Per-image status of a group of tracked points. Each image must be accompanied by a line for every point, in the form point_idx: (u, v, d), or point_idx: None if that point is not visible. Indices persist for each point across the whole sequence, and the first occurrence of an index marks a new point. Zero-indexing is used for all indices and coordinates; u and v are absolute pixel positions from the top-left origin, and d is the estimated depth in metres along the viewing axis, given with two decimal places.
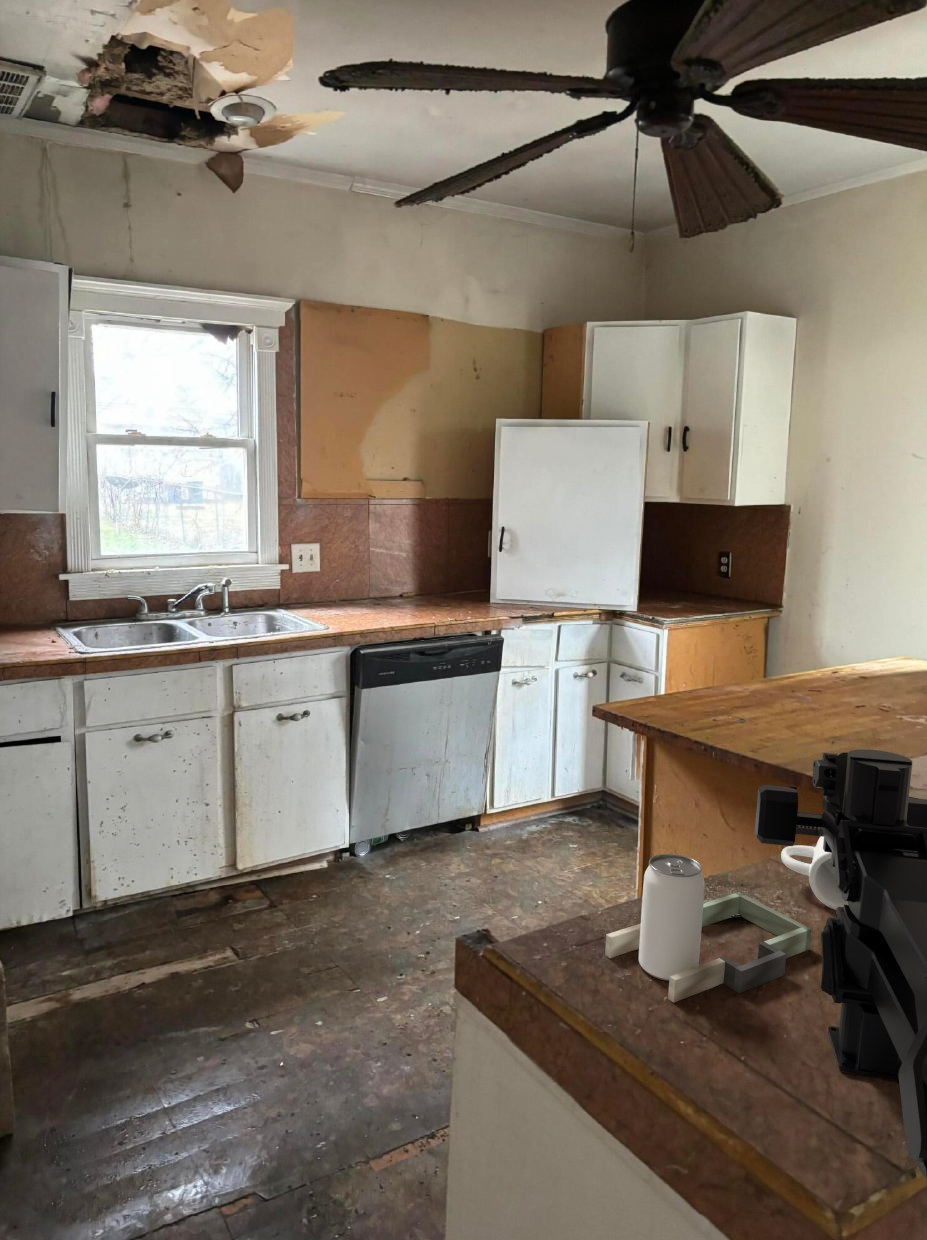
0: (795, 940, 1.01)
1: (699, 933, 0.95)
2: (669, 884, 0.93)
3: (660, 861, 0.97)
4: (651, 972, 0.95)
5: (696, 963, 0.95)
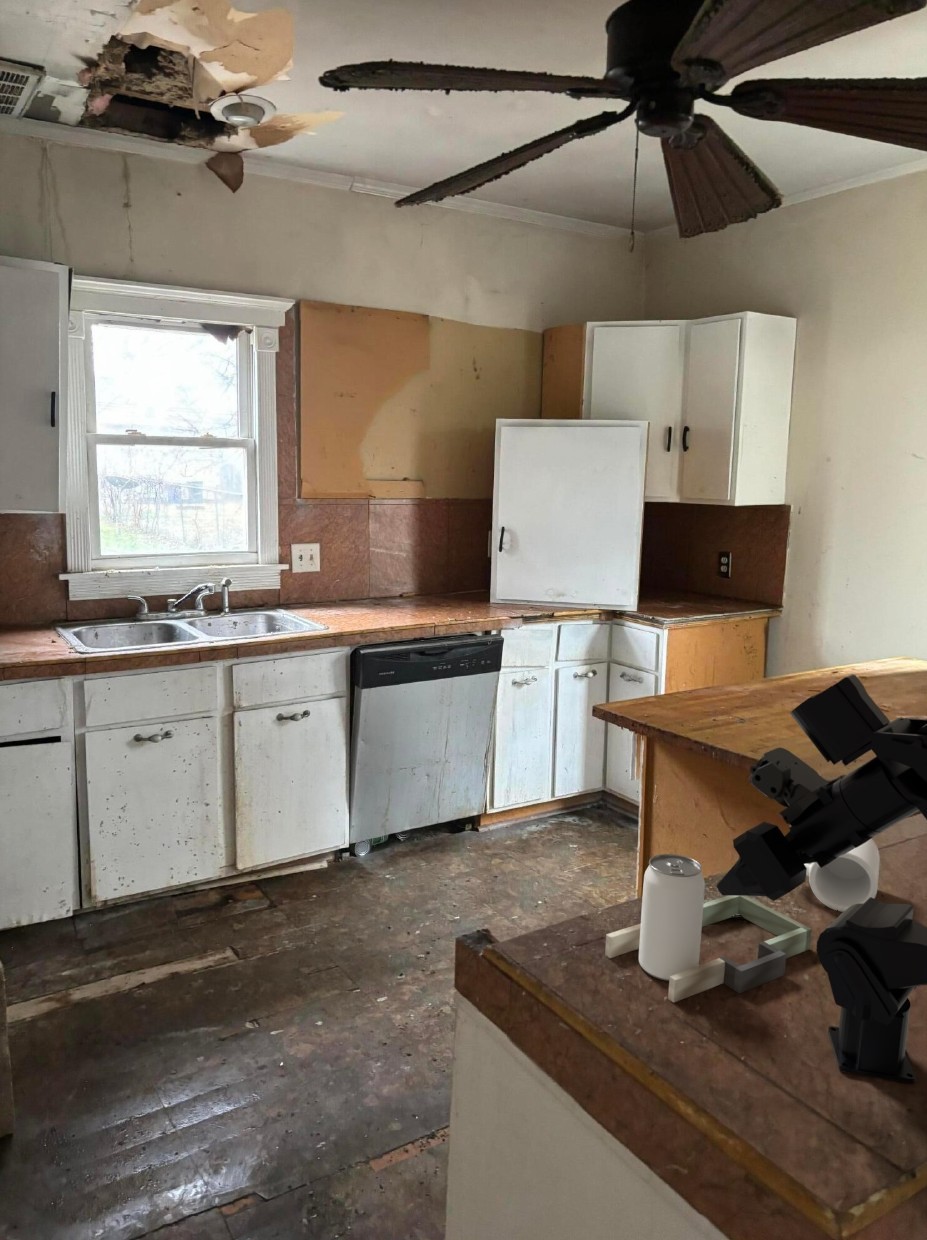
0: (795, 940, 1.01)
1: (699, 933, 0.95)
2: (669, 884, 0.93)
3: (660, 861, 0.97)
4: (651, 972, 0.95)
5: (696, 963, 0.95)
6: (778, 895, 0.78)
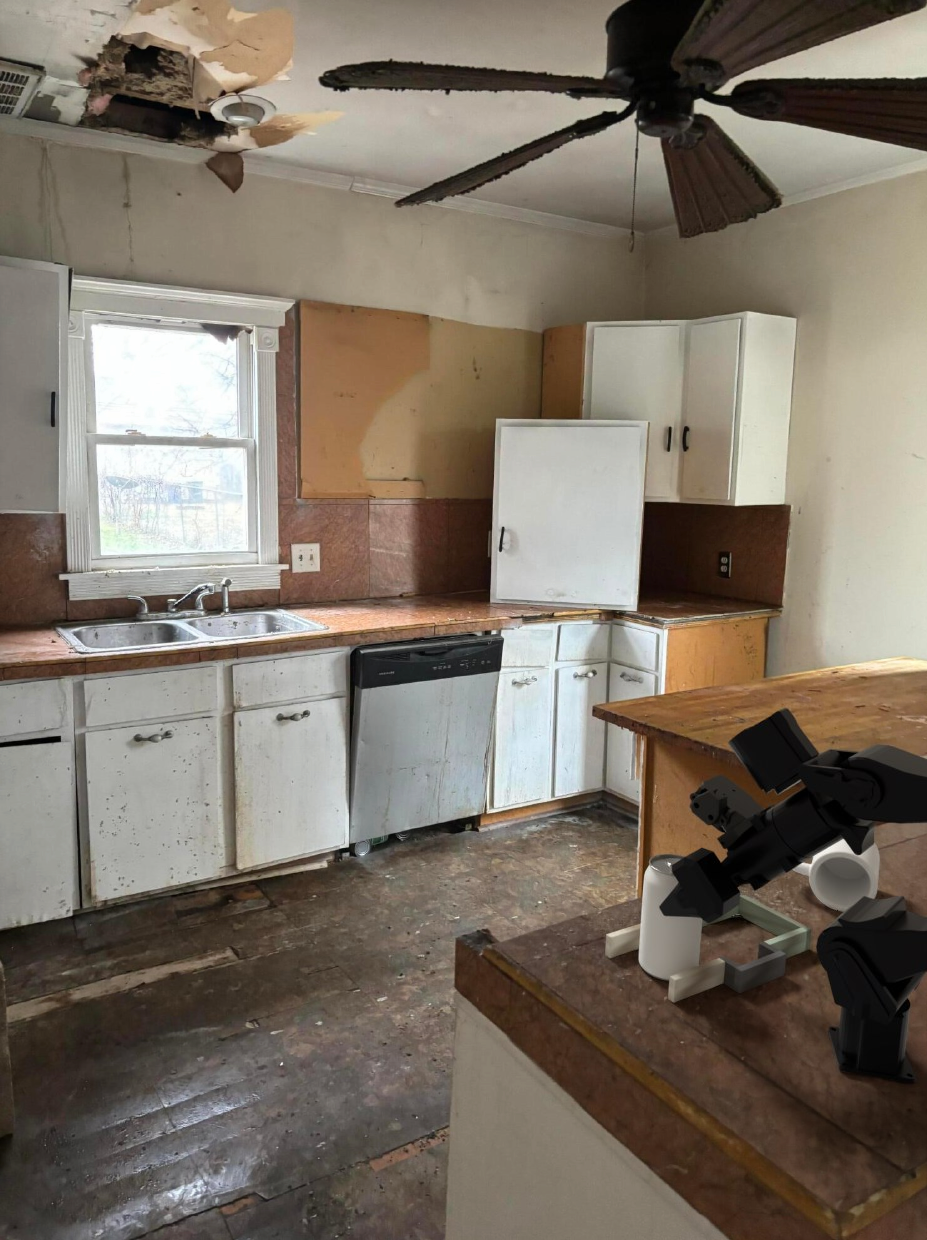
0: (795, 940, 1.01)
1: (699, 933, 0.95)
2: (669, 884, 0.93)
3: (661, 861, 0.97)
4: (651, 972, 0.95)
5: (696, 963, 0.95)
6: (712, 918, 0.83)
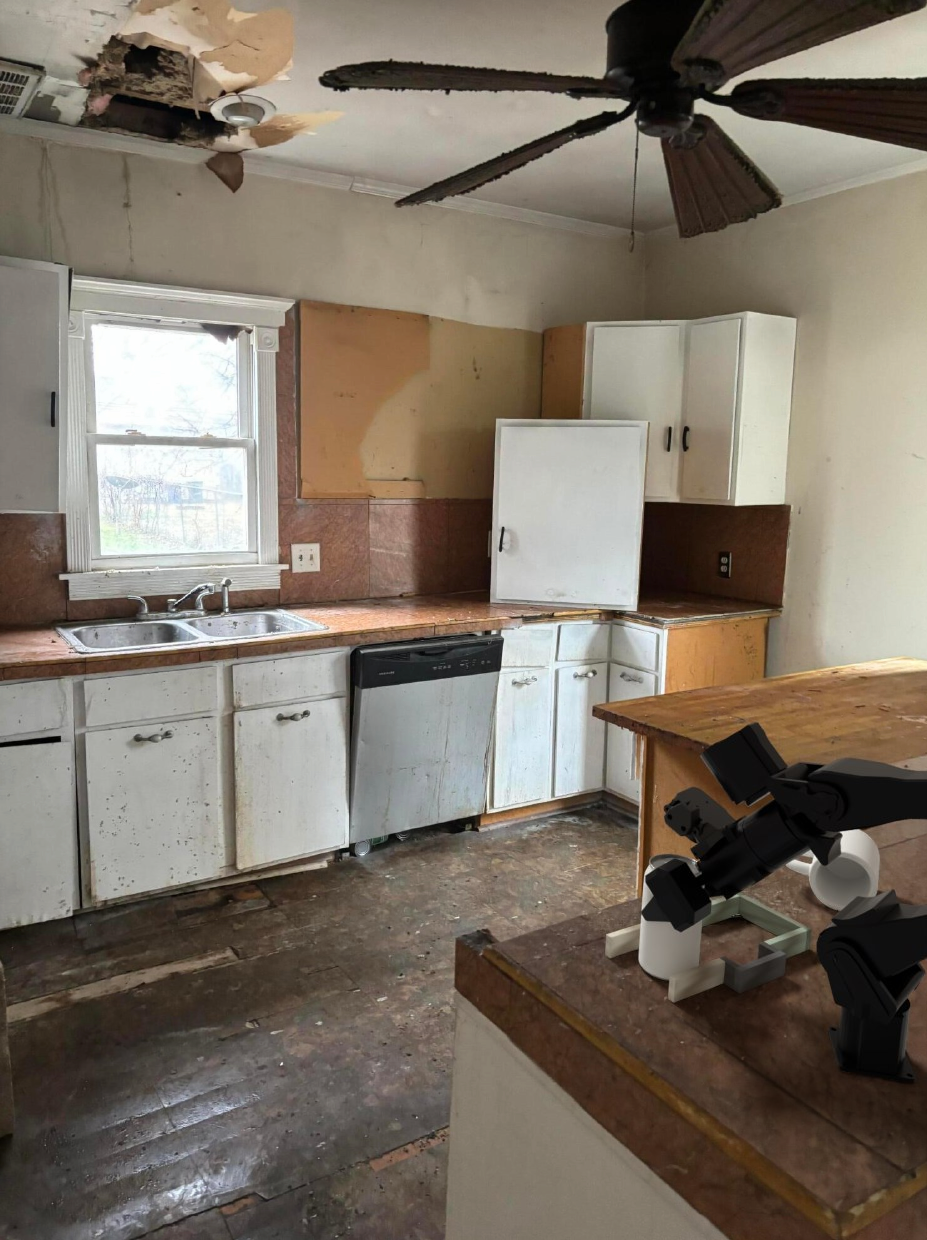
0: (795, 940, 1.01)
1: (699, 933, 0.95)
2: None
3: (661, 861, 0.97)
4: (651, 972, 0.95)
5: (696, 963, 0.95)
6: (684, 927, 0.85)
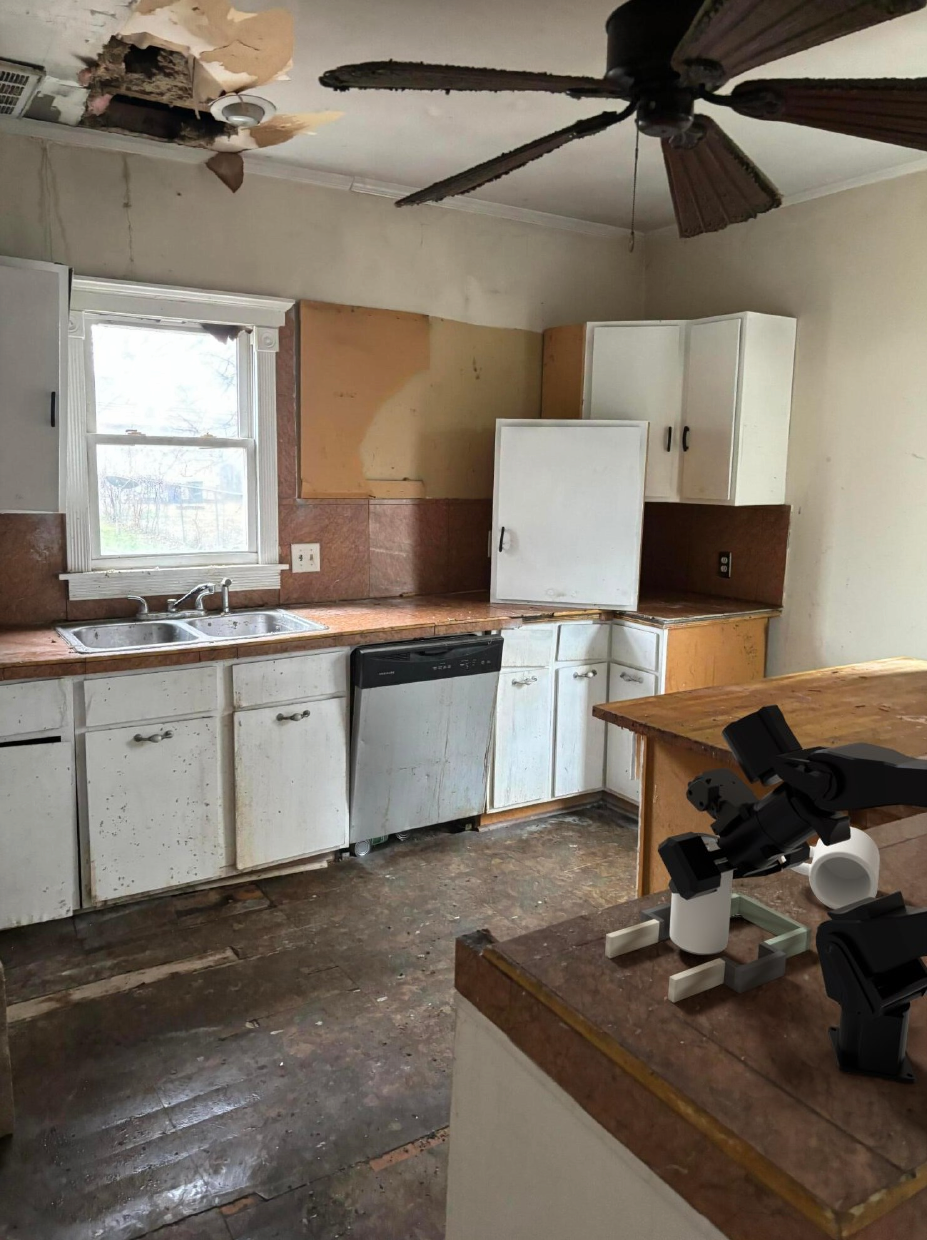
0: (795, 940, 1.01)
1: (725, 910, 0.98)
2: None
3: None
4: (677, 943, 0.99)
5: (722, 939, 0.98)
6: (689, 895, 0.89)
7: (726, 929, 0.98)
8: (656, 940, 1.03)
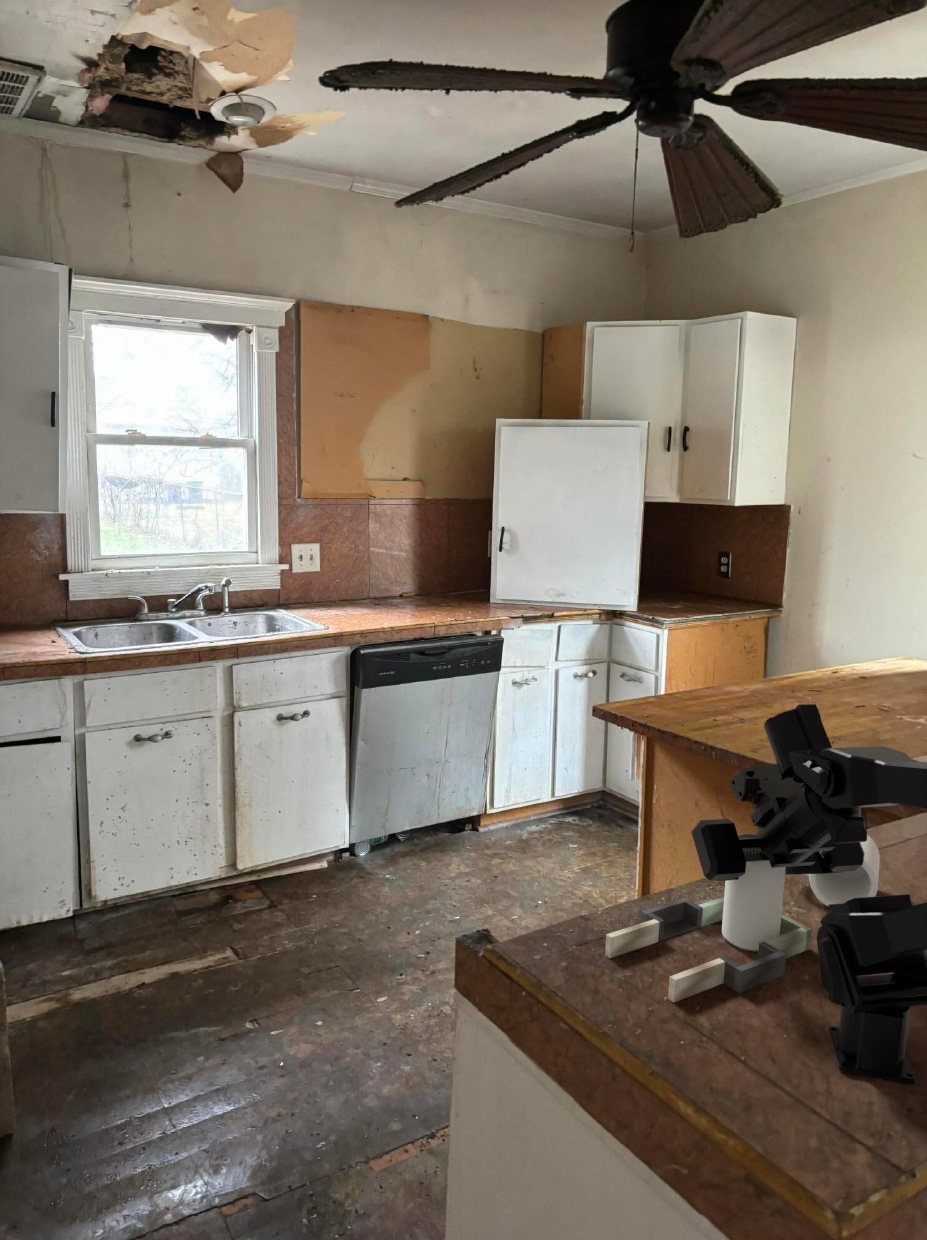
0: (795, 940, 1.01)
1: (771, 911, 1.00)
2: None
3: None
4: (724, 935, 1.04)
5: (767, 939, 1.01)
6: (711, 876, 0.95)
7: (772, 930, 1.01)
8: (656, 940, 1.03)
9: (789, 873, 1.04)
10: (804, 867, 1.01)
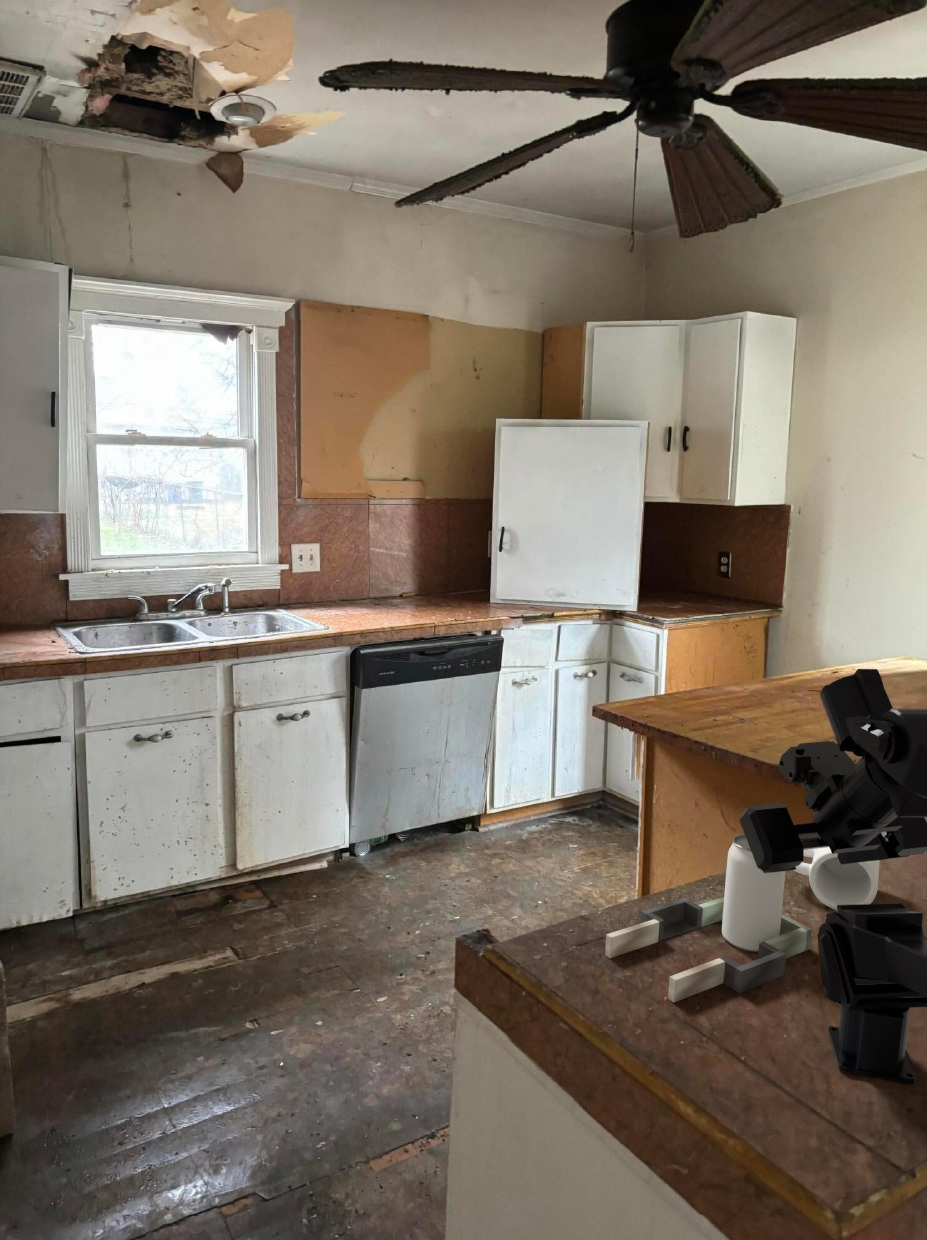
0: (795, 940, 1.01)
1: (771, 911, 1.00)
2: (739, 856, 1.01)
3: None
4: (724, 936, 1.04)
5: (767, 939, 1.01)
6: (765, 866, 0.85)
7: (772, 930, 1.01)
8: (656, 940, 1.03)
9: (849, 862, 0.94)
10: (866, 853, 0.92)
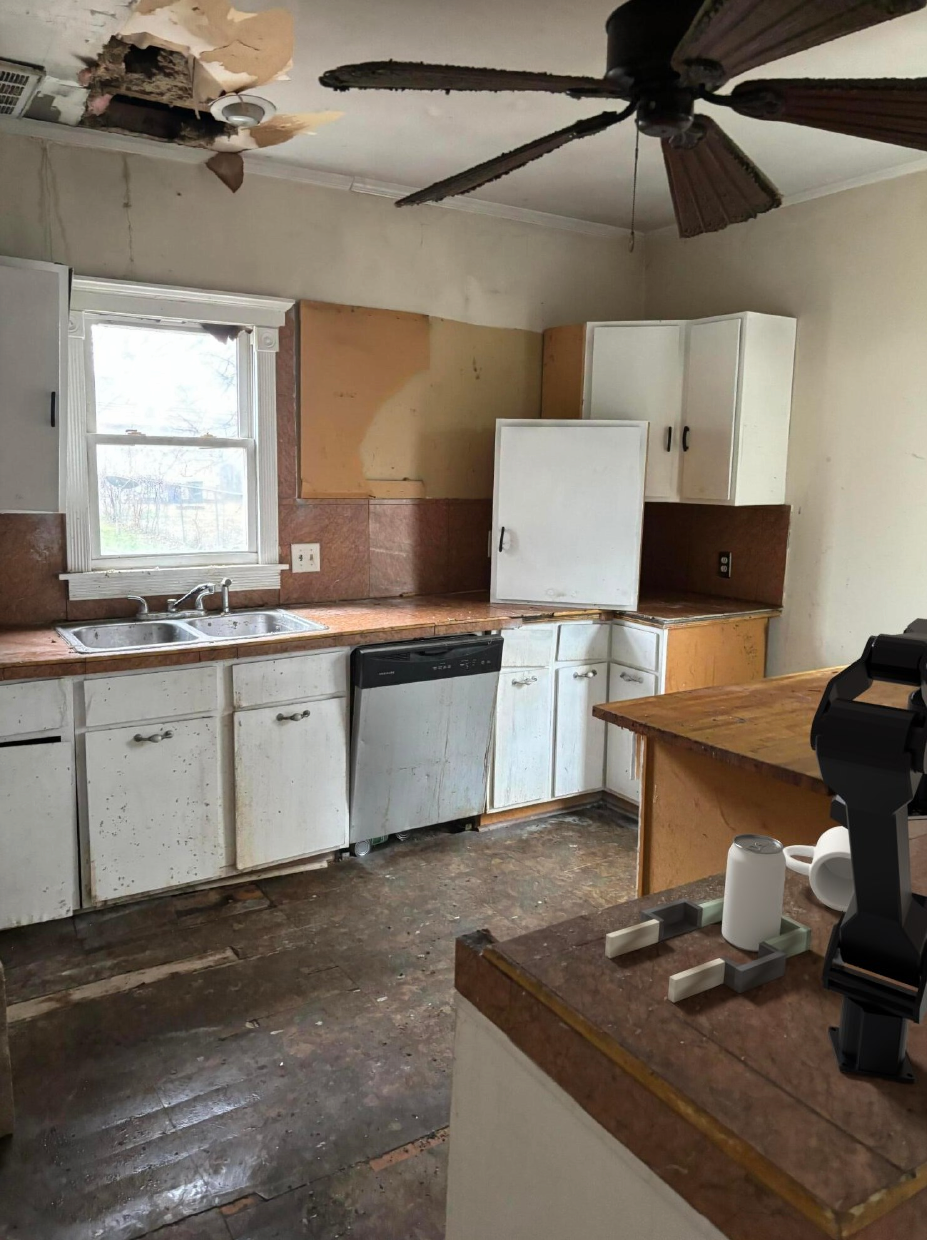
0: (795, 940, 1.01)
1: (771, 911, 1.00)
2: (739, 856, 1.01)
3: (750, 839, 1.04)
4: (724, 936, 1.04)
5: (767, 939, 1.01)
6: None
7: (772, 930, 1.01)
8: (656, 940, 1.03)
9: None
10: None
